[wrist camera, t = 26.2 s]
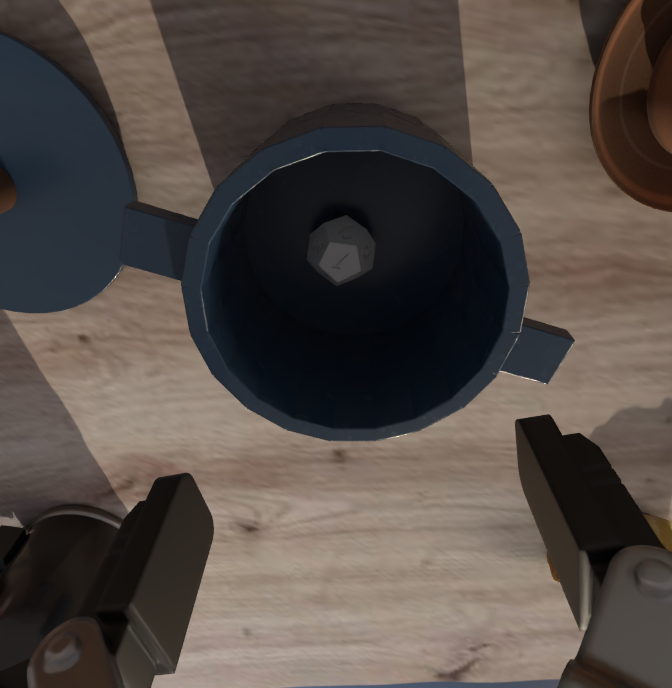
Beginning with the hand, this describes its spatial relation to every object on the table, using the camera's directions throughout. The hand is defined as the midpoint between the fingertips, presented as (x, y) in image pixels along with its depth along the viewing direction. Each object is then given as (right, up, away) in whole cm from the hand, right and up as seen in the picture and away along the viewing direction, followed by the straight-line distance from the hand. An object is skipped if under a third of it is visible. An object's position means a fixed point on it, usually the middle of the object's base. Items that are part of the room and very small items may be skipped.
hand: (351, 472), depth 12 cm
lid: (-18, +12, +15) cm, 26 cm away
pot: (+1, +9, +16) cm, 19 cm away
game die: (0, +9, +16) cm, 18 cm away
